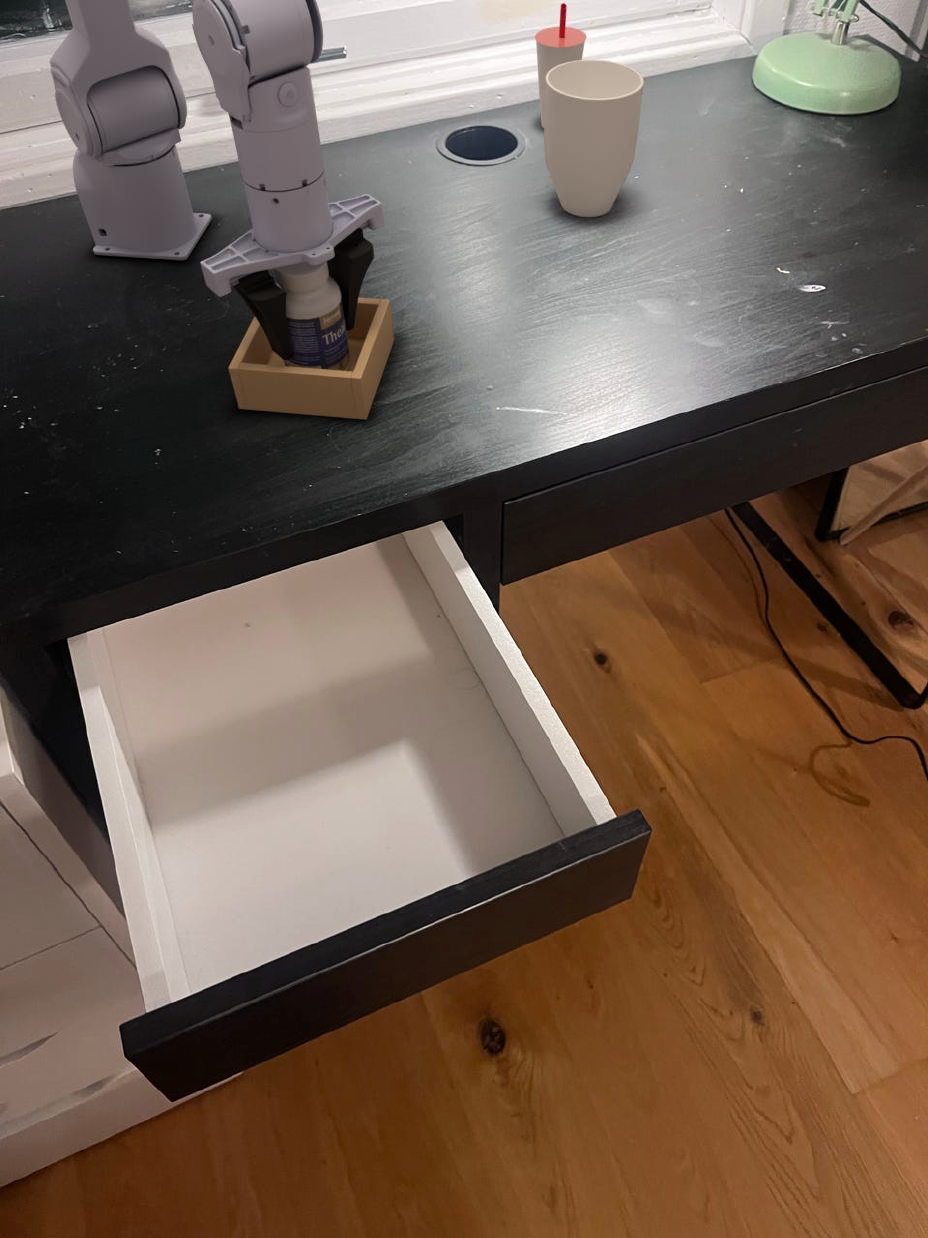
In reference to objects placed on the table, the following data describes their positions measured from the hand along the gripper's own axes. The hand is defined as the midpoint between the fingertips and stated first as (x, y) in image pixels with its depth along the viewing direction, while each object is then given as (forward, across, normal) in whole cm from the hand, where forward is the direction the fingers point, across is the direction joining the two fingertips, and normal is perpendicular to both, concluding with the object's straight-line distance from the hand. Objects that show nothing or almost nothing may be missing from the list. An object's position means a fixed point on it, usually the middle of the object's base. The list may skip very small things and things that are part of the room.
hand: (313, 338), depth 77 cm
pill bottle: (+3, 0, 0) cm, 3 cm away
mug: (+4, +36, +7) cm, 36 cm away
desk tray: (+3, 0, 0) cm, 3 cm away
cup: (+4, +45, +20) cm, 49 cm away
